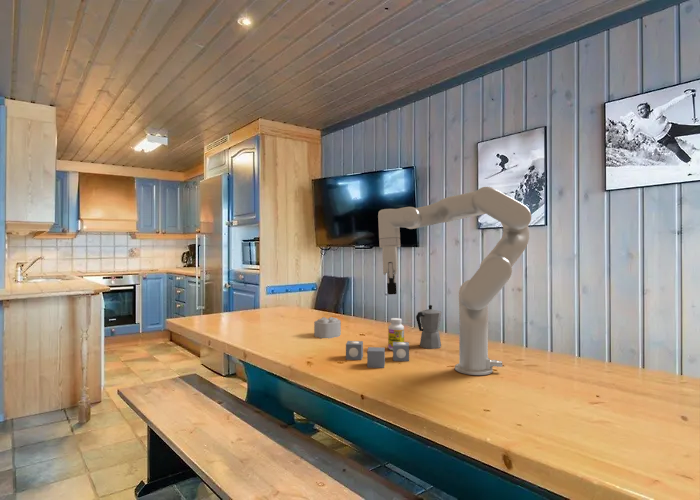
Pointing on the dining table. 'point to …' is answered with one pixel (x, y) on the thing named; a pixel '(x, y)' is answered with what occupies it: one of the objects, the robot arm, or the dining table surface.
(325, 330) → the lumpy-topped squat cylinder
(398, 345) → the badge block
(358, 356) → the badge block
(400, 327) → the supplement bottle
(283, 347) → the dining table surface
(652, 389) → the dining table surface
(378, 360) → the plain block
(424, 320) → the coffeepot
